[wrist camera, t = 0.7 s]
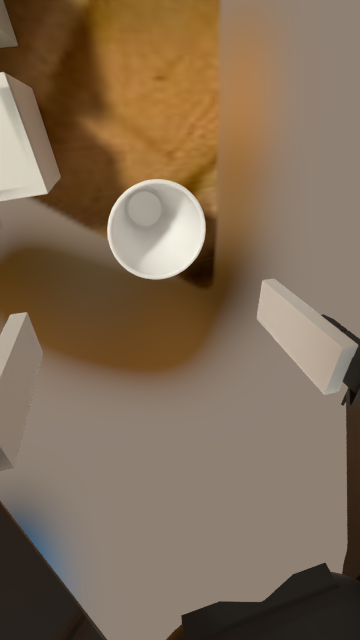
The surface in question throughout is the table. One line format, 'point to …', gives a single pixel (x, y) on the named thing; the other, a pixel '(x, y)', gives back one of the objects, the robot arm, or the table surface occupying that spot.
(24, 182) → the white cover
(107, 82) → the table surface
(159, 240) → the cup
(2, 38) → the sage cover
